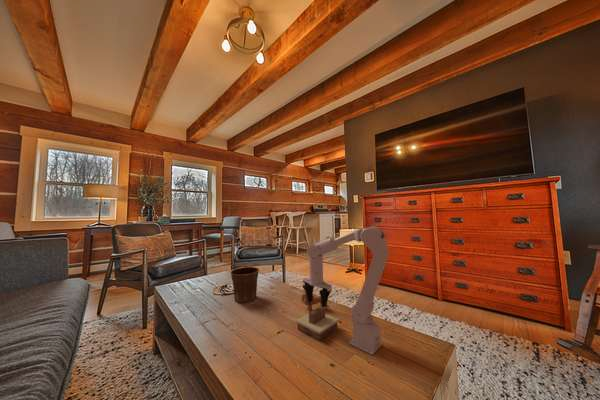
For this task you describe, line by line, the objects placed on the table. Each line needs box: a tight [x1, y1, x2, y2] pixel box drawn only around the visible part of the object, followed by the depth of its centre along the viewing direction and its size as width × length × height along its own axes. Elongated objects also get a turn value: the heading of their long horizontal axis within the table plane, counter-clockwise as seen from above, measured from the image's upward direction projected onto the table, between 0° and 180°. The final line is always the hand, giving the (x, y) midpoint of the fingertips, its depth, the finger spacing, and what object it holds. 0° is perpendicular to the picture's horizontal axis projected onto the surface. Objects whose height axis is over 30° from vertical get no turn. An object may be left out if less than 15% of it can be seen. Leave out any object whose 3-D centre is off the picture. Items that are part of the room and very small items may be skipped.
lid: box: [295, 305, 340, 334], centre depth 90 cm, size 13×13×5 cm
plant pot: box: [230, 266, 260, 304], centre depth 123 cm, size 16×16×16 cm
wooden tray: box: [297, 322, 339, 342], centre depth 90 cm, size 12×12×3 cm
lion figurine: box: [301, 292, 330, 313], centre depth 108 cm, size 15×5×9 cm, turn 108°
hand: (317, 303), depth 91 cm, fingers open, 7 cm apart
